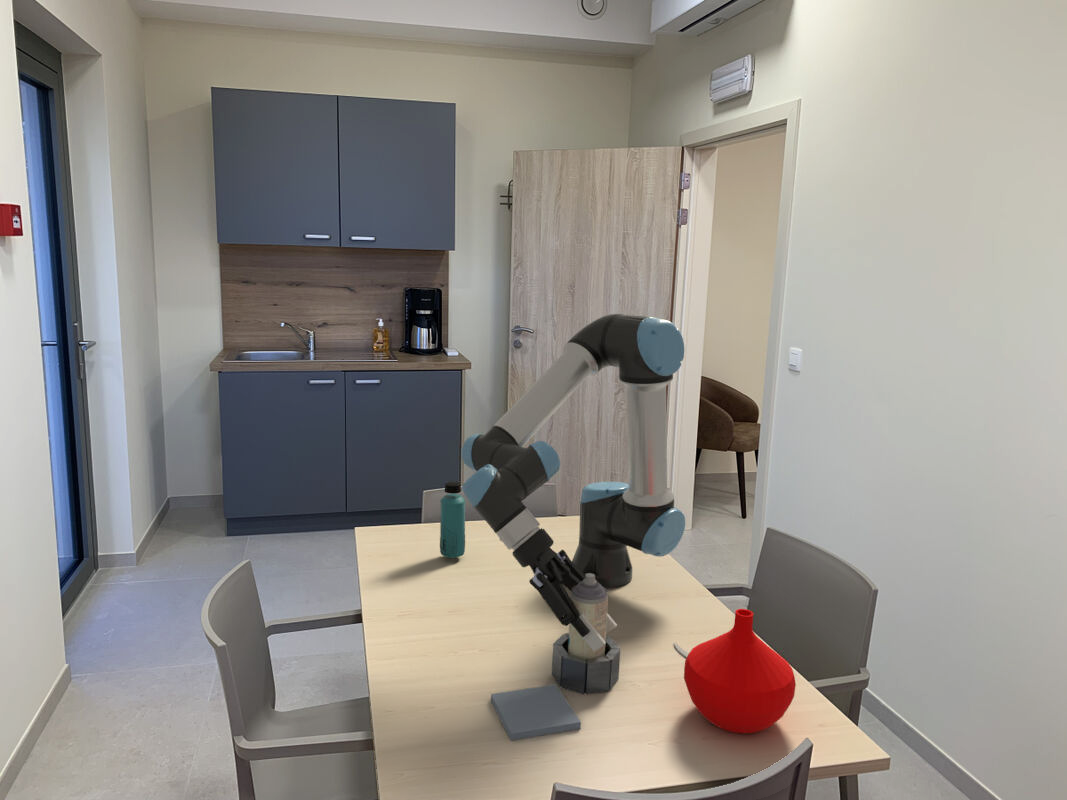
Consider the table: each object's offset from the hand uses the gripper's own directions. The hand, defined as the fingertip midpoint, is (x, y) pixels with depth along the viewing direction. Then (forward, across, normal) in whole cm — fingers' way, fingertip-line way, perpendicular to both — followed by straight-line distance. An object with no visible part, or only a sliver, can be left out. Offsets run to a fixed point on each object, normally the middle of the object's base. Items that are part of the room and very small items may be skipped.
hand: (605, 638), depth 144 cm
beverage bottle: (-30, -40, -43) cm, 66 cm away
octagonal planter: (+4, 0, -8) cm, 9 cm away
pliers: (+19, -16, +6) cm, 25 cm away
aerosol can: (+4, 0, -9) cm, 9 cm away
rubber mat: (+1, +15, -11) cm, 19 cm away
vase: (+23, +2, +11) cm, 26 cm away
